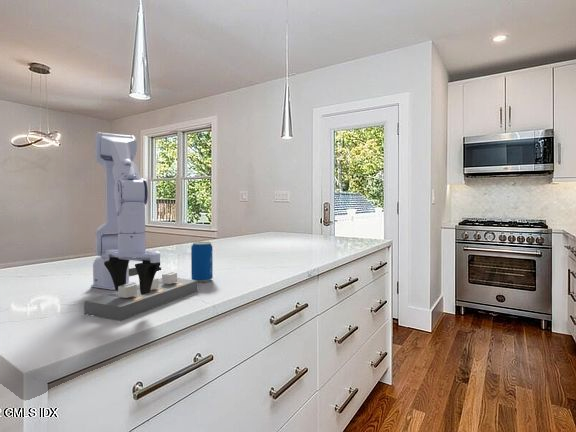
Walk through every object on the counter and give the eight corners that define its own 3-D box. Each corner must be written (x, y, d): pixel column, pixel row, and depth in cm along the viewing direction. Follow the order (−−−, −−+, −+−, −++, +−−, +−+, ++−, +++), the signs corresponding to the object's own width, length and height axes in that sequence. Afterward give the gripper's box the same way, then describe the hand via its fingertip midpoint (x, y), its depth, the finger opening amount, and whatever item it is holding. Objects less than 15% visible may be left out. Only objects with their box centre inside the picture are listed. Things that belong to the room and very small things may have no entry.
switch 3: (162, 283, 92) (161, 273, 92) (169, 280, 95) (169, 271, 95) (169, 284, 91) (169, 274, 91) (177, 281, 94) (177, 272, 94)
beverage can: (207, 283, 106) (207, 244, 105) (187, 282, 107) (187, 243, 106) (215, 278, 112) (215, 241, 112) (197, 277, 113) (197, 241, 113)
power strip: (84, 314, 77) (83, 300, 77) (177, 283, 106) (177, 273, 106) (120, 321, 73) (120, 306, 73) (208, 286, 102) (208, 276, 101)
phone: (162, 267, 126) (123, 274, 114) (162, 270, 126) (123, 278, 114) (149, 265, 131) (110, 271, 118) (149, 268, 131) (110, 275, 118)
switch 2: (141, 289, 86) (141, 279, 85) (150, 286, 88) (150, 276, 88) (149, 290, 85) (149, 280, 84) (158, 287, 87) (158, 277, 87)
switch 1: (118, 296, 79) (118, 285, 79) (128, 293, 82) (128, 283, 82) (126, 298, 78) (126, 287, 78) (136, 294, 81) (136, 284, 81)
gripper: (93, 232, 78) (94, 292, 78) (142, 235, 72) (143, 299, 73) (119, 230, 84) (120, 285, 85) (166, 232, 79) (167, 291, 79)
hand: (132, 291), depth 79 cm, fingers open, 7 cm apart
